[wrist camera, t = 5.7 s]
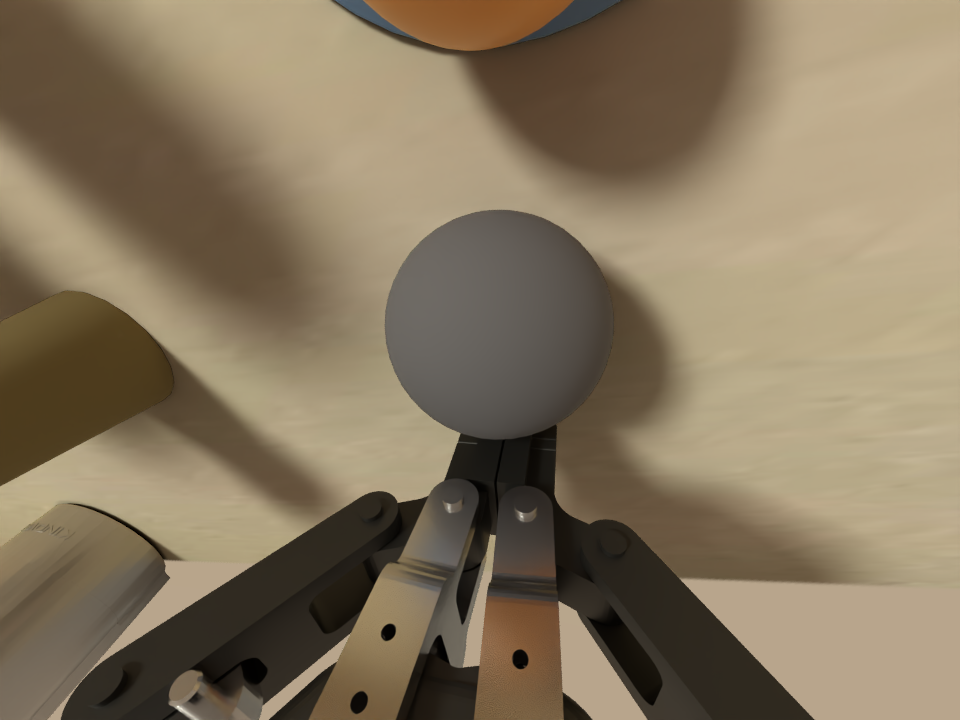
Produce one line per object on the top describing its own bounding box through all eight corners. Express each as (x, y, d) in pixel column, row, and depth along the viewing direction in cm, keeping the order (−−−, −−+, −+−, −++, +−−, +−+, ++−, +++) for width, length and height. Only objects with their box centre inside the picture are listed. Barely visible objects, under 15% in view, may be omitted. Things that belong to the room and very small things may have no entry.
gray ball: (618, 481, 6) (644, 148, 6) (317, 435, 7) (352, 161, 8) (595, 439, 11) (610, 260, 12) (424, 417, 13) (442, 256, 13)
